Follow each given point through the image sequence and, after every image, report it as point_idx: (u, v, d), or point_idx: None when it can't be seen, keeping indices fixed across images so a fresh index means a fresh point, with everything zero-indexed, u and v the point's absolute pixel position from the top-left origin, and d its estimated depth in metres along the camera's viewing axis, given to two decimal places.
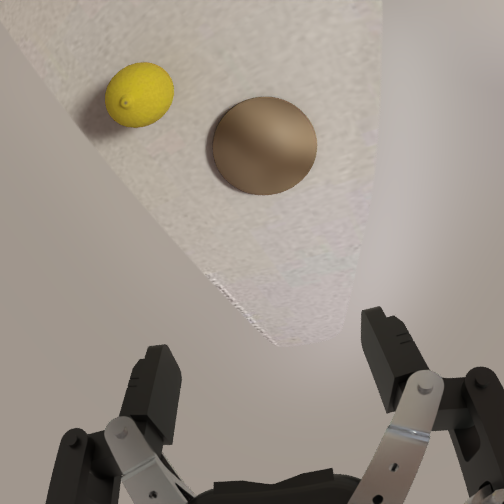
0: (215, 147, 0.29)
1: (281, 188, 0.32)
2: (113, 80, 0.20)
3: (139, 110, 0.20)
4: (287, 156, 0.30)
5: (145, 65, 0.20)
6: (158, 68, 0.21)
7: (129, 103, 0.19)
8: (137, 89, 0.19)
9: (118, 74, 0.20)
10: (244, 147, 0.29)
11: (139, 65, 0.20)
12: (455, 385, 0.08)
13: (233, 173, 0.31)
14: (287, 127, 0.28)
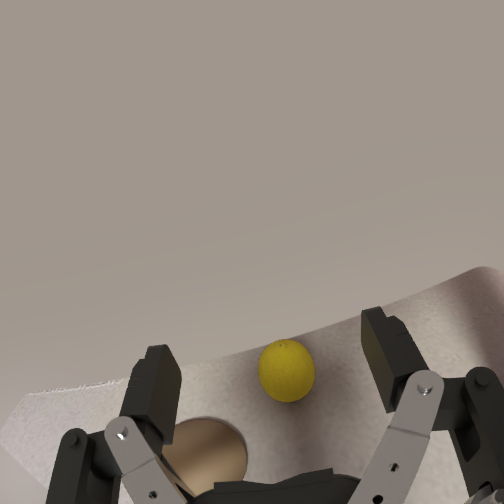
0: (216, 423, 0.29)
1: None
2: (304, 347, 0.29)
3: (270, 355, 0.28)
4: (178, 473, 0.24)
5: (308, 375, 0.27)
6: (301, 386, 0.27)
7: (279, 347, 0.28)
8: (288, 356, 0.27)
9: (308, 353, 0.29)
10: (204, 444, 0.27)
11: (309, 370, 0.28)
12: (455, 385, 0.08)
13: (186, 428, 0.29)
14: (205, 483, 0.23)
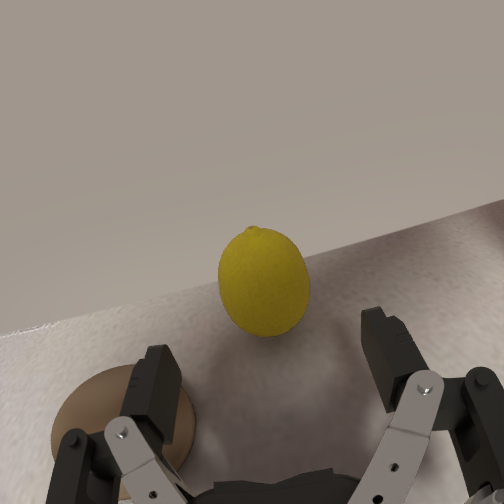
0: None
1: (60, 417, 0.16)
2: (291, 241, 0.19)
3: (235, 244, 0.18)
4: None
5: (297, 281, 0.18)
6: (287, 299, 0.17)
7: (248, 230, 0.18)
8: (262, 243, 0.17)
9: (297, 248, 0.19)
10: None
11: (299, 274, 0.18)
12: (455, 385, 0.08)
13: (113, 377, 0.19)
14: None
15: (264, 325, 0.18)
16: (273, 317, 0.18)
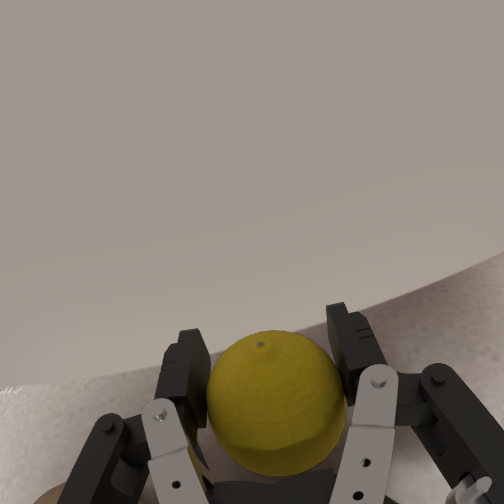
0: None
1: None
2: (324, 352, 0.11)
3: (232, 370, 0.10)
4: None
5: (332, 424, 0.10)
6: (315, 450, 0.09)
7: (256, 350, 0.10)
8: (281, 377, 0.09)
9: (333, 366, 0.11)
10: None
11: (337, 412, 0.10)
12: (413, 381, 0.08)
13: None
14: None
15: (277, 474, 0.10)
16: (292, 469, 0.10)
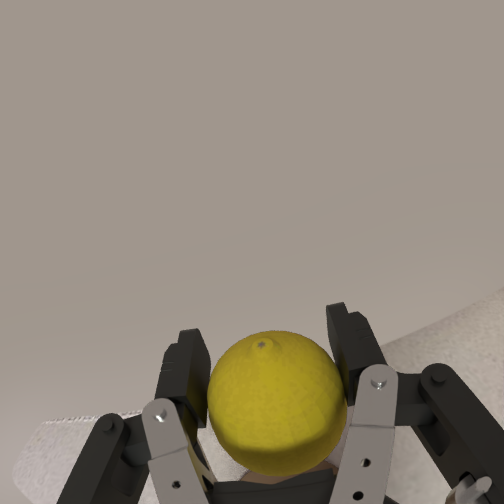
0: None
1: None
2: (325, 352, 0.11)
3: (233, 371, 0.10)
4: None
5: (333, 424, 0.10)
6: (316, 450, 0.09)
7: (257, 350, 0.10)
8: (281, 378, 0.09)
9: (334, 366, 0.11)
10: None
11: (338, 412, 0.10)
12: (412, 381, 0.08)
13: None
14: None
15: (278, 474, 0.10)
16: (293, 469, 0.10)
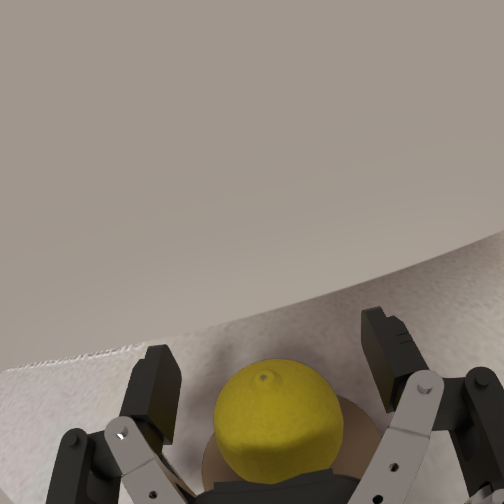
0: None
1: (209, 465, 0.15)
2: (323, 380, 0.12)
3: (237, 400, 0.10)
4: None
5: (329, 445, 0.10)
6: (314, 468, 0.10)
7: (259, 382, 0.10)
8: (282, 408, 0.10)
9: (331, 392, 0.11)
10: None
11: (334, 434, 0.10)
12: (455, 385, 0.08)
13: None
14: None
15: None
16: None
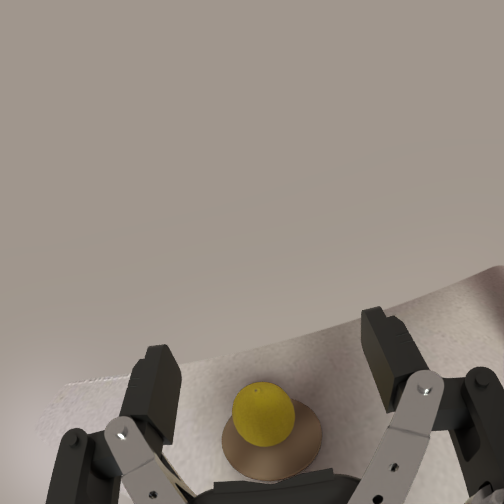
0: None
1: (225, 438, 0.28)
2: (283, 392, 0.25)
3: (244, 400, 0.24)
4: (255, 450, 0.27)
5: (285, 422, 0.24)
6: (278, 433, 0.24)
7: (254, 392, 0.24)
8: (263, 403, 0.24)
9: (287, 398, 0.25)
10: None
11: (287, 417, 0.24)
12: (455, 385, 0.08)
13: None
14: (285, 455, 0.25)
15: (263, 444, 0.24)
16: (269, 442, 0.24)
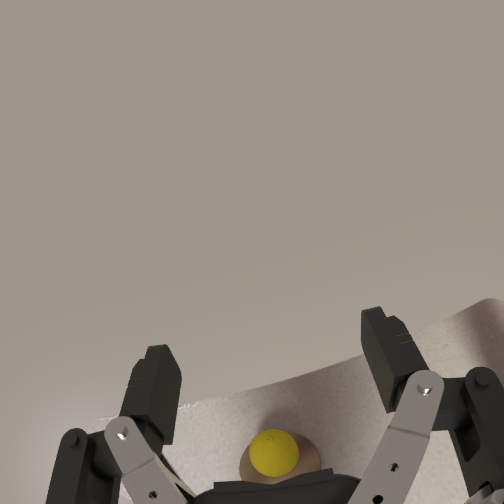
0: (292, 434, 0.36)
1: (242, 467, 0.33)
2: (290, 438, 0.30)
3: (259, 446, 0.29)
4: (267, 477, 0.31)
5: (291, 461, 0.28)
6: (285, 469, 0.28)
7: (267, 441, 0.29)
8: (274, 449, 0.28)
9: (293, 442, 0.30)
10: None
11: (293, 457, 0.29)
12: (455, 385, 0.08)
13: None
14: None
15: (273, 476, 0.29)
16: (278, 474, 0.28)
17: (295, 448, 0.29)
